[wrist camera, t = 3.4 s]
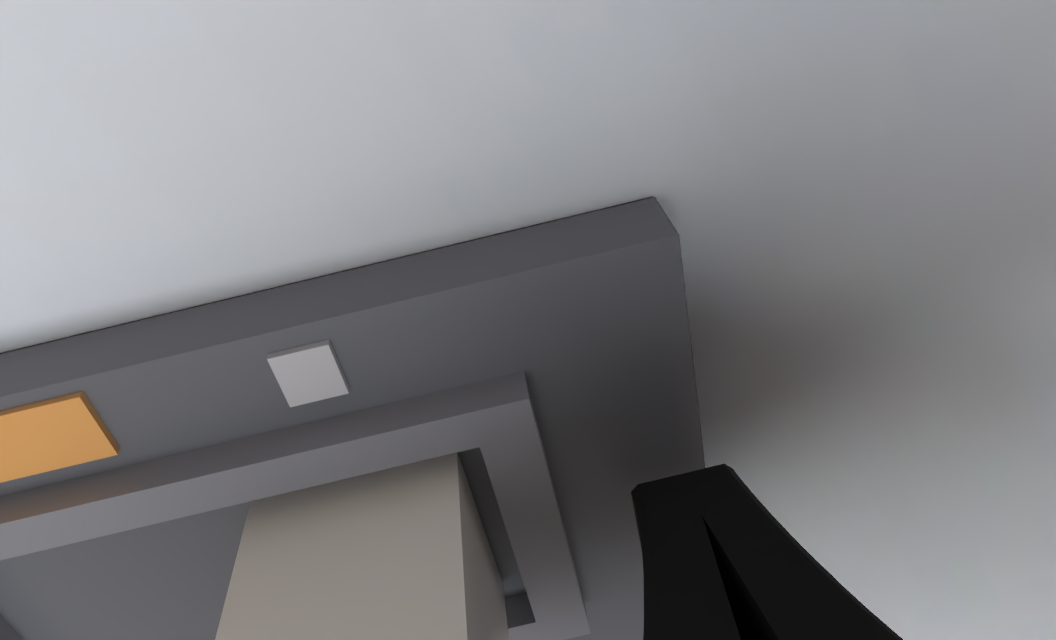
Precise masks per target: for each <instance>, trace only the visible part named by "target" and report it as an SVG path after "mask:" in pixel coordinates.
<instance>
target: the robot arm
mask: <svg viewBox="0 0 1056 640" xmlns="http://www.w3.org/2000/svg"><path fill="white" fill-rule="evenodd" d="M631 495H632V501H633V506H634V511H635V517H636V522H637V528H638V533H639V538H640V544H641V549H642V557H643V573H644V634H643V640H903V639H902V638H901V637H899V636H898V635H897V634H896V633H895V632H894V631H892V630H891V629H890V628H889V627H888V626H887V625H886V624H884V623H883V622H882V621H881V620H880V619H879V618H878V617H876V616H875V615H874V614H873V613H872V612H871V611H869V610H868V609H867V608H866V607H865V606H864V605H863V604H862V603H861V602H859V601H858V600H857V599H856V598H855V597H854V596H853V595H852V594H851V593H850V592H849V591H847V590H846V589H845V588H844V587H843V586H842V585H841V584H840V583H839V582H838V581H837V580H836V579H835V578H834V577H833V576H832V575H831V574H830V573H829V572H828V571H827V570H826V569H824V568H823V567H822V566H821V565H820V564H819V563H818V562H817V561H816V560H815V559H814V558H813V557H812V556H811V555H810V554H809V553H808V552H807V551H806V550H805V549H804V548H803V547H802V546H801V545H800V544H799V543H798V542H797V541H796V540H795V539H794V538H793V537H792V536H791V535H790V534H789V533H788V532H787V531H786V529H785V528H784V527H783V526H782V525H781V524H780V523H779V522H778V521H777V520H776V519H775V518H774V517H773V516H772V515H771V513H770V512H769V511H768V510H767V509H766V508H765V507H764V506H763V505H762V503H761V502H760V501H759V500H758V499H757V498H756V497H755V496H754V494H753V493H752V492H751V491H750V490H749V488H748V487H747V486H746V485H745V484H744V483H743V481H742V480H741V479H740V478H739V476H738V475H737V474H736V473H735V471H734V470H733V469H732V468H731V467H729V466H727V465H725V464H721V465H717V466H713V467H709V468H704V469H700V470H696V471H692V472H687V473H683V474H679V475H675V476H670V477H666V478H662V479H658V480H653V481H649V482H645V483H641V484H638V485H637V486H636V487H635V488H634V489H633V490H632V491H631Z"/></svg>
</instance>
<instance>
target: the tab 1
mask: <svg viewBox="0 0 1056 640" xmlns="http://www.w3.org/2000/svg"><path fill="white" fill-rule="evenodd" d="M215 640H509V634H508V625H507V616H506V607H505V597H504V588H503V582H502V579H501V576H500V574H499V571H498V568H497V565H496V562H495V559H494V556H493V553H492V550H491V547H490V544H489V541H488V539H487V536H486V533H485V530H484V527H483V524H482V521H481V518H480V515H479V512H478V509H477V507H476V504H475V501H474V498H473V495H472V492H471V489H470V486H469V483H468V480H467V477H466V474H465V472H464V469H463V466H462V463H461V460H460V457H459V454H458V452H457V453H452V454H448V455H444V456H440V457H435V458H431V459H427V460H423V461H418V462H414V463H410V464H406V465H402V466H397V467H393V468H389V469H385V470H380V471H376V472H372V473H368V474H364V475H359V476H355V477H351V478H347V479H342V480H338V481H334V482H330V483H326V484H321V485H317V486H313V487H309V488H304V489H300V490H296V491H292V492H287V493H283V494H279V495H275V496H271V497H266V498H262V499H258V500H254V501H251V502H250V506H249V510H248V514H247V518H246V521H245V525H244V529H243V533H242V537H241V541H240V545H239V549H238V553H237V556H236V560H235V564H234V568H233V572H232V576H231V580H230V584H229V587H228V591H227V595H226V599H225V603H224V607H223V611H222V615H221V619H220V622H219V626H218V630H217V634H216V638H215Z"/></svg>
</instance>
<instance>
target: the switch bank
mask: <svg viewBox="0 0 1056 640" xmlns="http://www.w3.org/2000/svg"><path fill="white" fill-rule="evenodd" d="M457 452H458V454H459V457H460V460H461V463H462V466H463V469H464V472H465V474H466V477H467V480H468V483H469V486H470V489H471V492H472V495H473V498H474V501H475V504H476V507H477V509H478V512H479V515H480V518H481V521H482V524H483V527H484V530H485V533H486V536H487V539H488V541H489V544H490V547H491V550H492V553H493V556H494V559H495V562H496V565H497V568H498V571H499V574H500V576H501V579H502V582H503V588H504V597H505V607H506V616H507V625H508V634H509V640H643V634H644V573H643V557H642V549H641V544H640V538H639V533H638V528H637V522H636V517H635V511H634V506H633V501H632V495H631V491H632V490H633V489H634V488H635V487H636V486H637V485H638V484H641V483H645V482H649V481H653V480H658V479H662V478H666V477H670V476H675V475H679V474H683V473H687V472H692V471H696V470H700V469H704V468H705V462H704V453H703V444H702V436H701V427H700V418H699V409H698V400H697V391H696V383H695V374H694V365H693V356H692V347H691V338H690V330H689V321H688V312H687V303H686V294H685V285H684V277H683V268H682V259H681V250H680V241H679V234H678V233H677V231H676V230H675V228H674V226H673V225H672V223H671V222H670V220H669V219H668V217H667V215H666V214H665V212H664V211H663V209H662V208H661V206H660V205H659V203H658V201H657V200H656V198H655V197H653V198H648V199H644V200H640V201H636V202H632V203H628V204H623V205H619V206H615V207H611V208H607V209H603V210H598V211H594V212H590V213H586V214H582V215H578V216H573V217H569V218H565V219H561V220H557V221H553V222H548V223H544V224H540V225H536V226H532V227H528V228H523V229H519V230H515V231H511V232H507V233H503V234H499V235H494V236H490V237H486V238H482V239H478V240H474V241H469V242H465V243H461V244H457V245H453V246H449V247H444V248H440V249H436V250H432V251H428V252H424V253H419V254H415V255H411V256H407V257H403V258H399V259H394V260H390V261H386V262H382V263H378V264H374V265H369V266H365V267H361V268H357V269H353V270H349V271H344V272H340V273H336V274H332V275H328V276H324V277H319V278H315V279H311V280H307V281H303V282H299V283H294V284H290V285H286V286H282V287H278V288H274V289H269V290H265V291H261V292H257V293H253V294H249V295H244V296H240V297H236V298H232V299H228V300H224V301H219V302H215V303H211V304H207V305H203V306H199V307H194V308H190V309H186V310H182V311H178V312H174V313H169V314H165V315H161V316H157V317H153V318H149V319H144V320H140V321H136V322H132V323H128V324H124V325H119V326H115V327H111V328H107V329H103V330H99V331H94V332H90V333H86V334H82V335H78V336H74V337H69V338H65V339H61V340H57V341H53V342H49V343H44V344H40V345H36V346H32V347H28V348H24V349H19V350H15V351H11V352H7V353H3V354H0V640H215V638H216V634H217V630H218V626H219V622H220V619H221V615H222V611H223V607H224V603H225V599H226V595H227V591H228V587H229V584H230V580H231V576H232V572H233V568H234V564H235V560H236V556H237V553H238V549H239V545H240V541H241V537H242V533H243V529H244V525H245V521H246V518H247V514H248V510H249V506H250V502H251V501H254V500H258V499H262V498H266V497H271V496H275V495H279V494H283V493H287V492H292V491H296V490H300V489H304V488H309V487H313V486H317V485H321V484H326V483H330V482H334V481H338V480H342V479H347V478H351V477H355V476H359V475H364V474H368V473H372V472H376V471H380V470H385V469H389V468H393V467H397V466H402V465H406V464H410V463H414V462H418V461H423V460H427V459H431V458H435V457H440V456H444V455H448V454H452V453H457Z"/></svg>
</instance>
